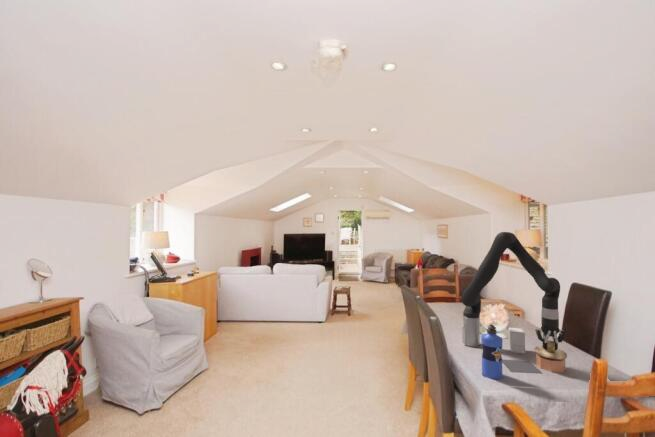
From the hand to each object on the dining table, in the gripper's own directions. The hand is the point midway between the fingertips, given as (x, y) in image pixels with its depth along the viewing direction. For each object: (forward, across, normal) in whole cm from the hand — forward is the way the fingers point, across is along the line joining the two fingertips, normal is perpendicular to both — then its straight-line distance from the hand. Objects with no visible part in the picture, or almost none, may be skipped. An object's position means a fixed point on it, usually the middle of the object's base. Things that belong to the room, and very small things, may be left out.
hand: (550, 349), depth 171 cm
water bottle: (+10, -33, -13) cm, 37 cm away
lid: (+2, 0, 0) cm, 2 cm away
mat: (+10, -15, -1) cm, 18 cm away
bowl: (+10, 0, 0) cm, 10 cm away
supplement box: (+10, -8, +21) cm, 25 cm away
